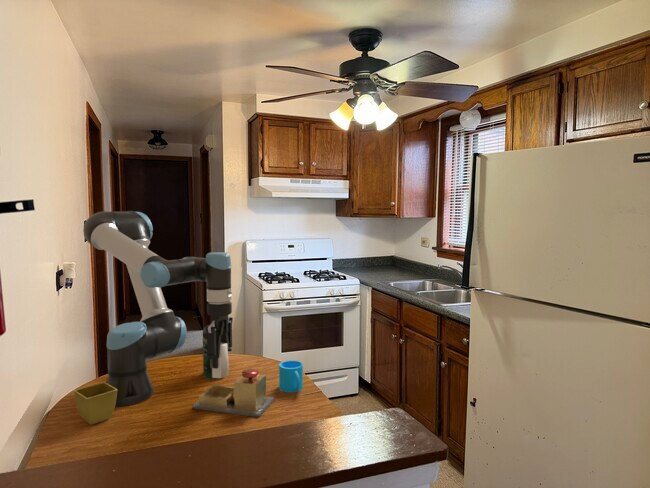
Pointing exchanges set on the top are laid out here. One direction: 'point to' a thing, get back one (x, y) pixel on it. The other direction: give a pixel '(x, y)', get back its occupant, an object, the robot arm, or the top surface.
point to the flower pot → (96, 402)
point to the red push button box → (238, 396)
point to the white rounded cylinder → (224, 359)
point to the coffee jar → (206, 358)
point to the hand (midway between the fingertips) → (220, 374)
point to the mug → (290, 376)
